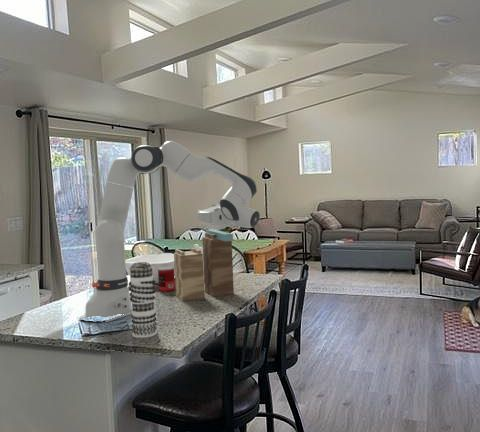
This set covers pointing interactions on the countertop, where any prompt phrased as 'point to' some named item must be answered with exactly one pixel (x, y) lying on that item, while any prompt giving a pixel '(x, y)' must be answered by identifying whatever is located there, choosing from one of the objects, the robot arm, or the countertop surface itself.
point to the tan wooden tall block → (189, 274)
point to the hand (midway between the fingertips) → (205, 208)
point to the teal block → (221, 235)
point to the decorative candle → (142, 300)
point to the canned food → (166, 279)
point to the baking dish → (153, 263)
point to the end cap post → (217, 266)
